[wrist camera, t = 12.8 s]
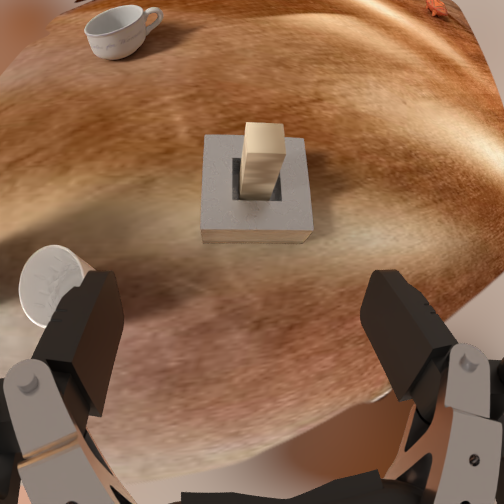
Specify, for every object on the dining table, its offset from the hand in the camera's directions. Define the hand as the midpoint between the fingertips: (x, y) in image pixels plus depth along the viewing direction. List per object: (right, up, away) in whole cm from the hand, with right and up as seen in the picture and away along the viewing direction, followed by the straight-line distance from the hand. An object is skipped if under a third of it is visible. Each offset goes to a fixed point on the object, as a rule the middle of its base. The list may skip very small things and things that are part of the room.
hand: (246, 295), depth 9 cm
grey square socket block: (0, +8, +30) cm, 31 cm away
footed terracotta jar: (+58, +78, +55) cm, 111 cm away
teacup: (-23, +39, +36) cm, 58 cm away
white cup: (-19, -4, +25) cm, 32 cm away
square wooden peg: (0, +8, +29) cm, 30 cm away
